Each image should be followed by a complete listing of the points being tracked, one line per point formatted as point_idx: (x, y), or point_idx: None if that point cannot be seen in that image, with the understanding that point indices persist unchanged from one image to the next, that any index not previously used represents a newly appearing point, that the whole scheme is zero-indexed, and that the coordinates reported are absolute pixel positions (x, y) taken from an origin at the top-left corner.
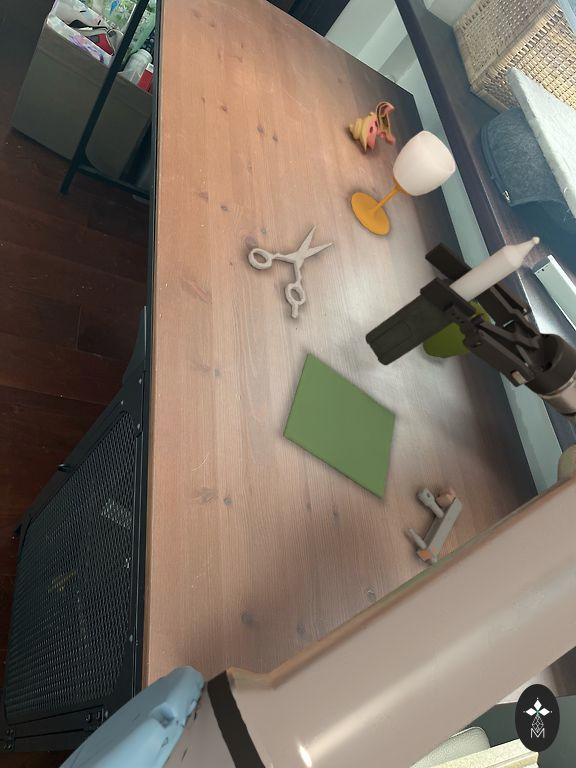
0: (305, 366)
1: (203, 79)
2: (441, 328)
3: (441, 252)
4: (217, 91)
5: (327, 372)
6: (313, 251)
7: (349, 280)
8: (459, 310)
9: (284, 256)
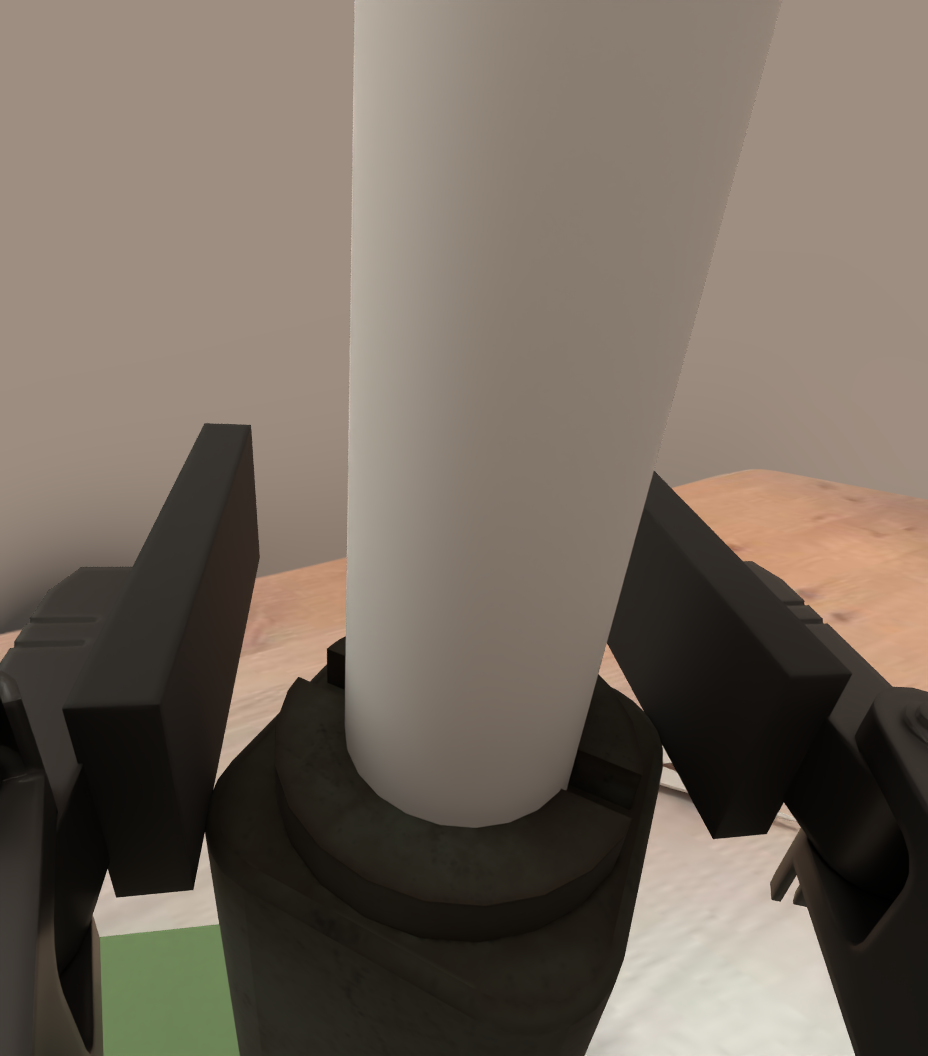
0: (182, 929)
1: (732, 518)
2: (232, 977)
3: None
4: (748, 533)
5: (210, 1038)
6: (674, 780)
7: (781, 961)
8: (71, 624)
9: None
